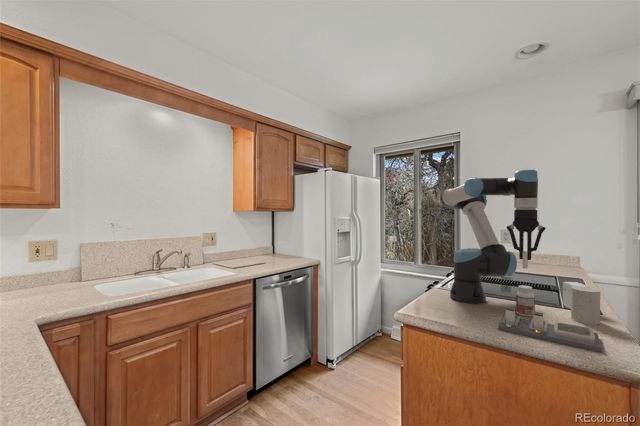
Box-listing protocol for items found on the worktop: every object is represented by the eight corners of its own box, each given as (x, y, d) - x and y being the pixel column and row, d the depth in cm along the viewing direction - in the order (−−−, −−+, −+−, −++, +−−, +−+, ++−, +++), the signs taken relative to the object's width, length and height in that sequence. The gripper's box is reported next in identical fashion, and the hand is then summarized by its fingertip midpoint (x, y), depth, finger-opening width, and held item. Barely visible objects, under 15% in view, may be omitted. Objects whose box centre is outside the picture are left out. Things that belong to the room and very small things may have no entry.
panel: (498, 329, 100) (498, 321, 100) (503, 318, 110) (503, 310, 110) (601, 352, 84) (601, 342, 84) (597, 337, 94) (597, 328, 94)
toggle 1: (505, 322, 103) (505, 308, 103) (506, 320, 105) (506, 306, 105) (514, 323, 101) (514, 310, 101) (515, 321, 103) (515, 308, 103)
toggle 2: (533, 327, 98) (533, 313, 98) (534, 325, 99) (534, 311, 99) (542, 329, 96) (543, 315, 96) (543, 327, 98) (543, 313, 98)
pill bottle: (521, 310, 119) (521, 284, 119) (538, 315, 114) (538, 287, 114) (512, 312, 116) (512, 285, 116) (529, 318, 111) (529, 289, 111)
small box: (590, 312, 116) (590, 286, 116) (574, 311, 117) (574, 286, 117) (577, 306, 124) (577, 281, 124) (562, 305, 125) (562, 281, 125)
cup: (565, 316, 112) (565, 286, 112) (584, 316, 112) (584, 285, 112) (586, 325, 104) (586, 292, 104) (606, 324, 104) (606, 291, 104)
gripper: (505, 209, 115) (504, 267, 116) (546, 209, 107) (545, 271, 107) (507, 208, 121) (507, 264, 122) (546, 208, 113) (546, 268, 113)
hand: (525, 267), depth 114 cm, fingers closed
